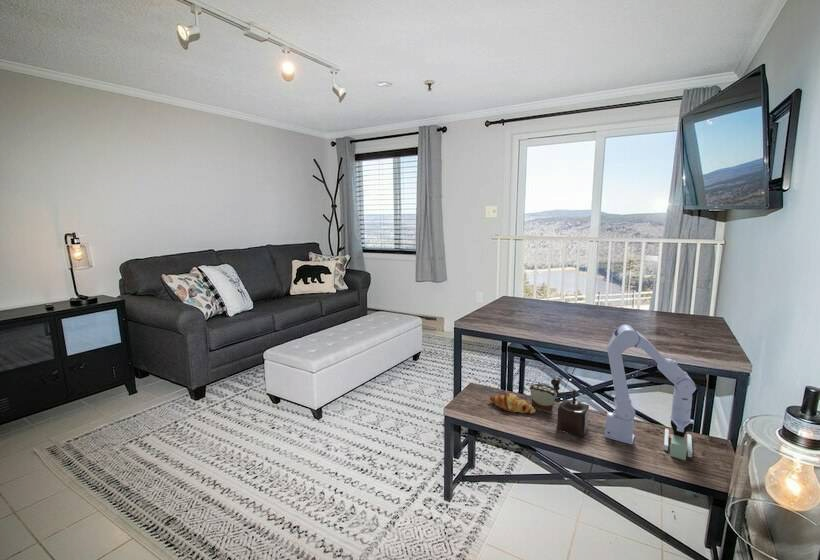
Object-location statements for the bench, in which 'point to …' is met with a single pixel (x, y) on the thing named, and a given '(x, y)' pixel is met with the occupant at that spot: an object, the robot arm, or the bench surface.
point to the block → (678, 447)
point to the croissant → (512, 403)
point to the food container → (543, 397)
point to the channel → (689, 441)
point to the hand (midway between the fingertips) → (678, 441)
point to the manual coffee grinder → (571, 413)
